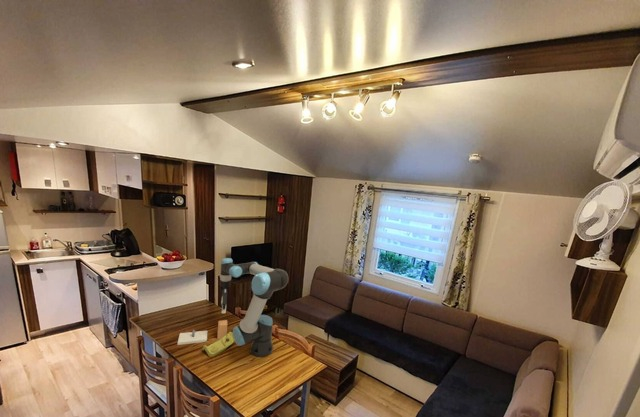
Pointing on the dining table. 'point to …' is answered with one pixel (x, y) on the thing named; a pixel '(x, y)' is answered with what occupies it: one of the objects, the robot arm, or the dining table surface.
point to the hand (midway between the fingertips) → (223, 308)
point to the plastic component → (219, 345)
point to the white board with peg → (192, 337)
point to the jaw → (222, 329)
